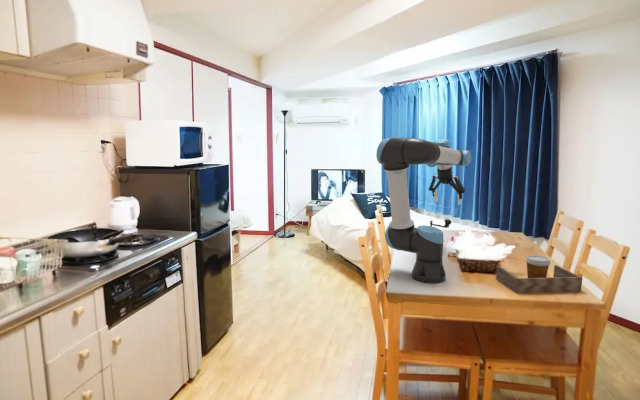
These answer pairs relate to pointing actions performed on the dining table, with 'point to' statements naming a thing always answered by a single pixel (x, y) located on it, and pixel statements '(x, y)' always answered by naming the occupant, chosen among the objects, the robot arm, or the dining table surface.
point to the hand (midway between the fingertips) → (447, 202)
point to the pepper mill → (447, 223)
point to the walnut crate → (541, 282)
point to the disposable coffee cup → (537, 266)
